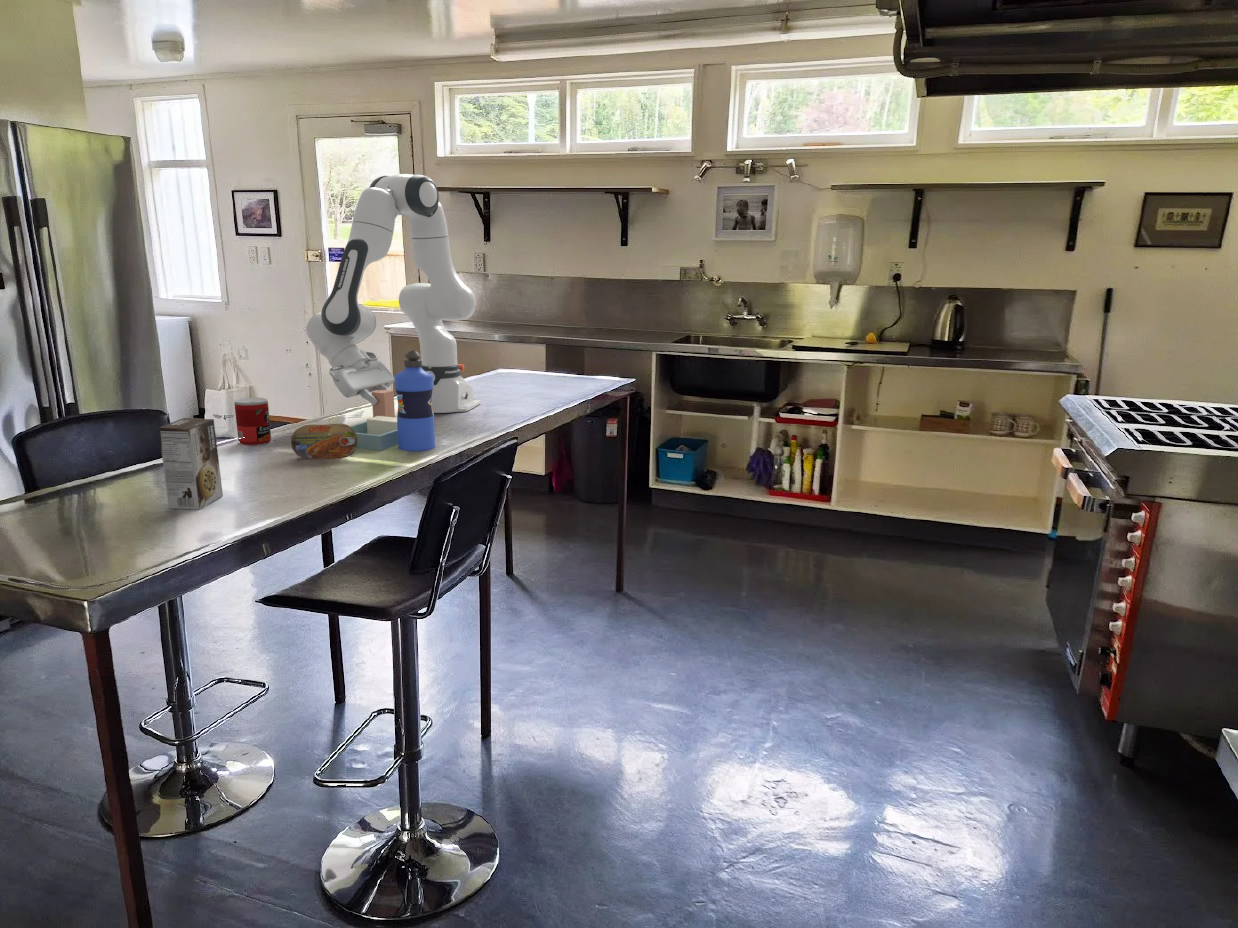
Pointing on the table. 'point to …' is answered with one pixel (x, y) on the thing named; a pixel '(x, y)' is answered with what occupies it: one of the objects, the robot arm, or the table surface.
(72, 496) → the table surface
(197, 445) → the cookie box
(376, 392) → the salmon brown rectangular block
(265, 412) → the canned food
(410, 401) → the water bottle
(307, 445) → the tin
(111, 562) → the table surface
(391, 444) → the tote
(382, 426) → the beige rectangular block
